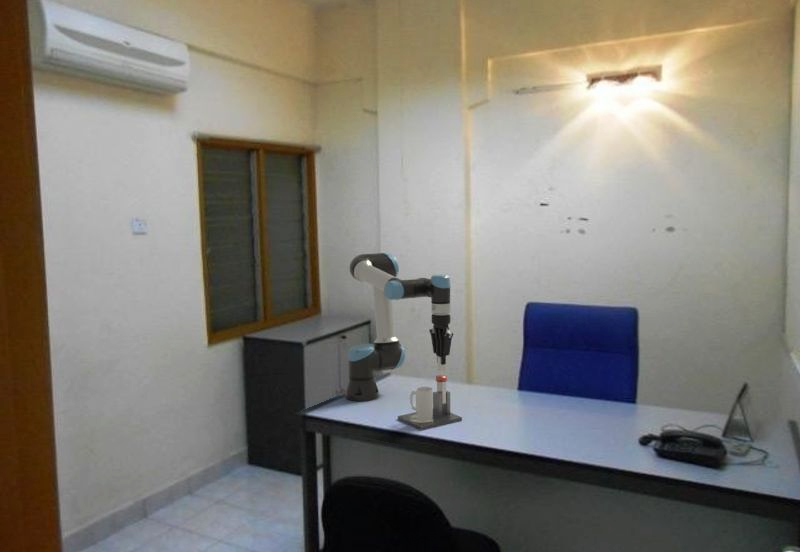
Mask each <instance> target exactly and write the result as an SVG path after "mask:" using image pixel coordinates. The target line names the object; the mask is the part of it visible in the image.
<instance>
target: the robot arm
mask: <svg viewBox="0 0 800 552" xmlns="http://www.w3.org/2000/svg"><path fill="white" fill-rule="evenodd" d="M399 268H400V266H399V262H398V259H397V258H396V257H395V255H394V254H392V253H390V252H388V253H386V252H381V253H380V252H379V253H378V252H377V253H361V254H358V255H356V256H354V258H352V260H351V262H350V264H349V273H350V275H351V276H352V278H353V279H355V280H356V281H359V282H362V283H364V282H365V283H367V284H369V285H371V286H372V287H373V288H372V289H373V303H374V313H375V317H374V318H375V327H376V338H375V340H374V341H373V343H368V342H367V343H360V344H356V345H353V346H351V347H350V348H349V349H348V355H347V356H348V357H347V360H348V383H347V385H346V389H345V398H346V400H349V401H355V402H366V401H373V400H375V399H377V398H379V396H380V395H379V394H380V391H379V388H378V386H377V382H376V378H375V376H376V375H375V373H379V372H384V371H389V370H390V371H391V370H395V369H399V368H401V367H402V365H403V364H404V362H405V360H406V350H405V348H404V344H403V343H400V340H399V338H398V337H397V336H396V326H395V324H396V323H395V312H394V300H395V301H399V300H405V299H416V298H431V302H430V303H431V313H432V314H431V324H432V325H433V326H432V328H431V329H429V333H430V338H431V343H432V351H433V354H436V363H437V373H438V374H439V373H440V374H441V373H446V361H447V359H446V358H447V356H449V355H450V352H451V346H452V339H453V336H454V333H453V332H451V331H450V328H449V324H450V323H451V278H450V276H449V275H447V274H433V275H431V277H430V278H427V277H419V278H416V279H415V278H413V279H400V278H398V275H399V271H400V269H399Z"/></svg>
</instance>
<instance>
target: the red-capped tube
mask: <svg viewBox="0 0 800 552" xmlns="http://www.w3.org/2000/svg"><path fill="white" fill-rule="evenodd" d="M447 381H448V376H447V375H445V374H444V375H443V374H440V375H436V376H435V382H436V392H438V393H441V394H442V404H444V403H446V391H447Z"/></svg>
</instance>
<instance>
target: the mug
mask: <svg viewBox="0 0 800 552" xmlns="http://www.w3.org/2000/svg"><path fill="white" fill-rule="evenodd" d="M433 392H434V388H433V387H430V386H419V387H416V388H415V389H411V393H410V396H409V401H410V406H411V409H412V410H413V411H415V412H416V416H417V420H419V421H430V420H432V416H433ZM414 395H415V403H414V401H413V400H414V398H413V397H414Z"/></svg>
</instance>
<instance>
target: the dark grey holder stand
mask: <svg viewBox="0 0 800 552" xmlns="http://www.w3.org/2000/svg"><path fill="white" fill-rule="evenodd" d="M397 420H399V421H401V422H403V423H405V424H407V425H409V426H411V427H413V428H415V429H417V430H419V431H423V430H428V429H431V428H436V427H441V426H444V425H449V424H452V423H453V424H454V423H456V422H460V421H463V417H461V416H459V415H458V414H455V413H453V412H451V392H450V391H448V390H446V403H444V404H442V394H441V393H438V392H437V391H433V416H432V420H430V421H419V420H417V416H416V411H415V412H411V413H406V414H401V415H398V416H397Z"/></svg>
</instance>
